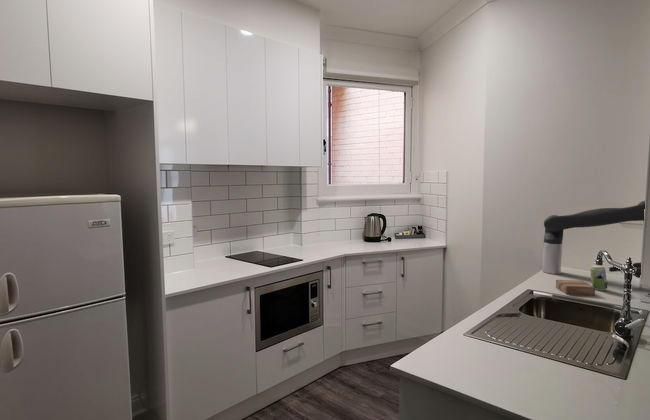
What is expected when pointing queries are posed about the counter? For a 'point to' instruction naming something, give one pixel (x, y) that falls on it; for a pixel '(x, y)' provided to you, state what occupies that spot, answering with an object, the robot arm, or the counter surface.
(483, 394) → the counter surface
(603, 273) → the beverage can
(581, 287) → the walnut base
